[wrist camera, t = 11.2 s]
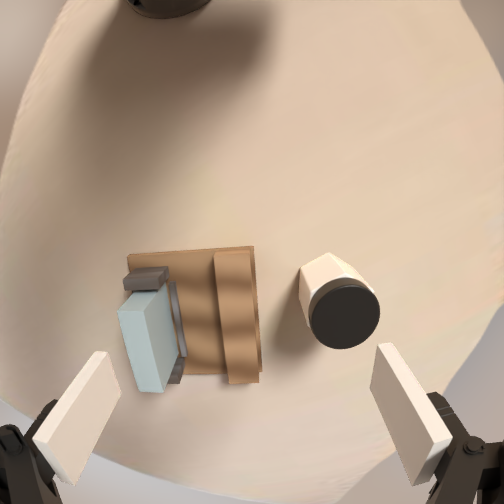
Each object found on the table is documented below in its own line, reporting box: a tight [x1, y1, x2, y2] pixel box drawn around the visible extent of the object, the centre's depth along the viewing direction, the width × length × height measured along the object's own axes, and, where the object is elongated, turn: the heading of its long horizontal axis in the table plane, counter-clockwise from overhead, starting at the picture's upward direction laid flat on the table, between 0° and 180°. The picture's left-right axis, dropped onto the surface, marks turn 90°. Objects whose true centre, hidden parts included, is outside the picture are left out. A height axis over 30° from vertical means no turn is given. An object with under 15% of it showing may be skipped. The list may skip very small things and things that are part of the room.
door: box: [117, 282, 179, 393], centre depth 42 cm, size 12×4×10 cm, turn 4°
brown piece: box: [123, 246, 262, 384], centre depth 44 cm, size 20×18×6 cm
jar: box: [298, 252, 380, 349], centre depth 40 cm, size 9×8×12 cm
